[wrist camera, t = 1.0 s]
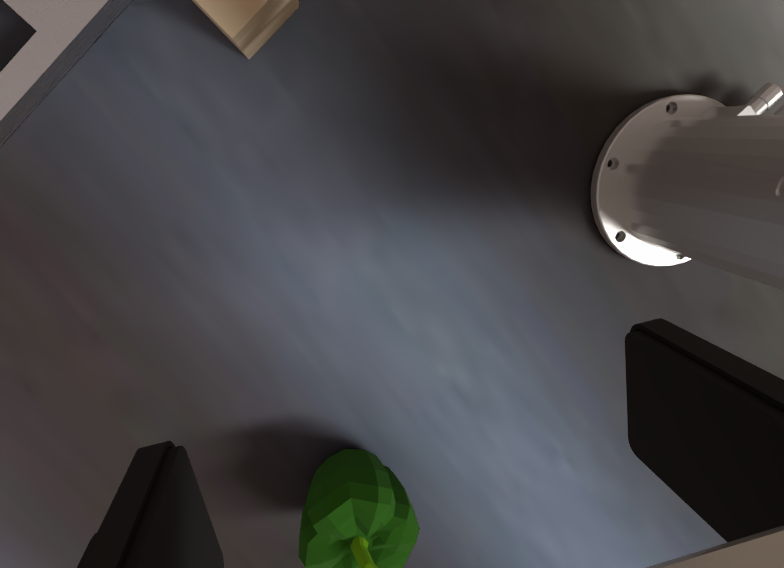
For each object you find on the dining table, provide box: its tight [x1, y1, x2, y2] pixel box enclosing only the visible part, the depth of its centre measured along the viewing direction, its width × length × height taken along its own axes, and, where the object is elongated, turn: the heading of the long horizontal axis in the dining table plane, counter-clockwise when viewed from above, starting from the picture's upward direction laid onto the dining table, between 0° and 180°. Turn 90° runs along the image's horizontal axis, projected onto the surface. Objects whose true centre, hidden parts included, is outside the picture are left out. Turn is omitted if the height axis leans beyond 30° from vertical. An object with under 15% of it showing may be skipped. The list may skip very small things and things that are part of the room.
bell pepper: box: [299, 449, 420, 568], centre depth 38 cm, size 8×8×10 cm
